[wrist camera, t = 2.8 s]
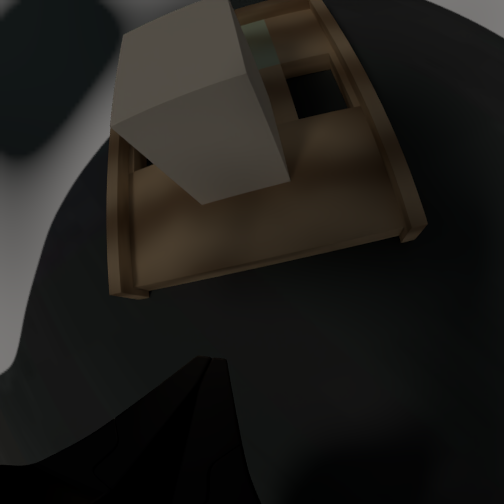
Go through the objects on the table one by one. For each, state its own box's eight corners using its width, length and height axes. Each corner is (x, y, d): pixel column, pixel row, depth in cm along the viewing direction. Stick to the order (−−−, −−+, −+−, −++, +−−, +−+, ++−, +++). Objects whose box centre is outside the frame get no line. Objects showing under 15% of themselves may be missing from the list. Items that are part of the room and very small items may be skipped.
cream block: (290, 181, 20) (246, 73, 11) (202, 204, 21) (110, 126, 12) (269, 99, 22) (225, -8, 12) (193, 123, 23) (123, 34, 14)
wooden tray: (414, 239, 19) (427, 223, 16) (138, 299, 23) (109, 294, 20) (319, 16, 25) (315, -10, 22) (136, 76, 29) (119, 57, 26)
